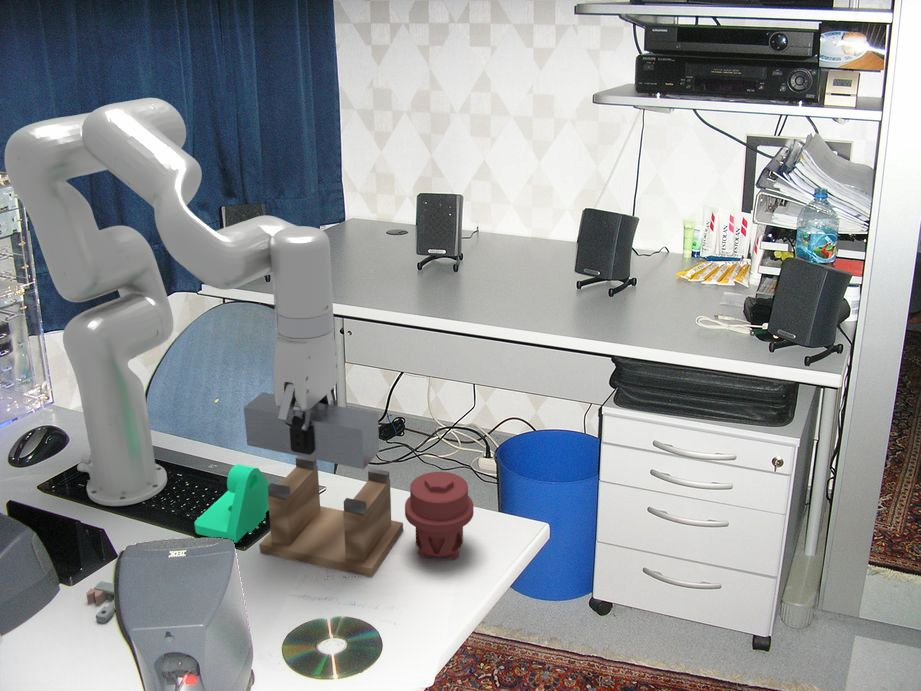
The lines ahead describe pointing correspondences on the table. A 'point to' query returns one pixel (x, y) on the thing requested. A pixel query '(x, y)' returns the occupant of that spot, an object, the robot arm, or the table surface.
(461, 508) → the mechanical component
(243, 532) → the camera mount
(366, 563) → the rack
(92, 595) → the clamp
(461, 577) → the table surface
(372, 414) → the matte grey brick
